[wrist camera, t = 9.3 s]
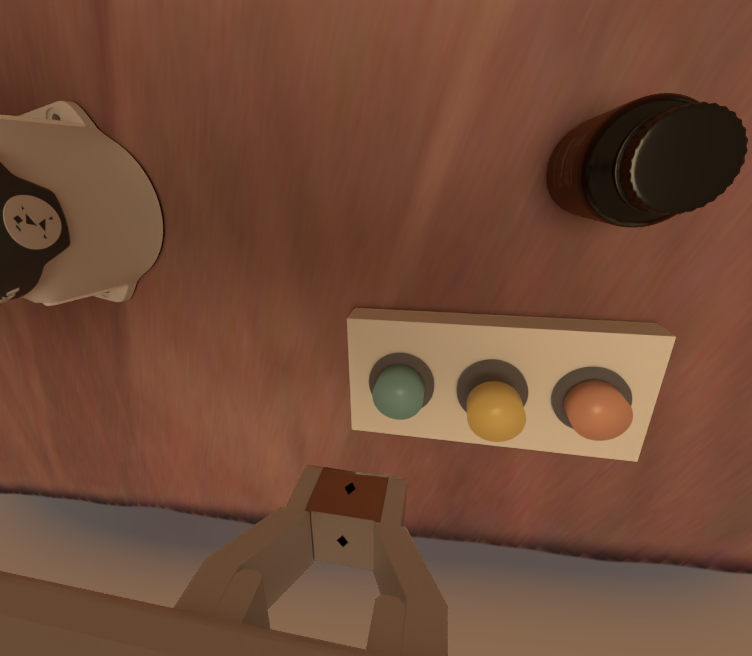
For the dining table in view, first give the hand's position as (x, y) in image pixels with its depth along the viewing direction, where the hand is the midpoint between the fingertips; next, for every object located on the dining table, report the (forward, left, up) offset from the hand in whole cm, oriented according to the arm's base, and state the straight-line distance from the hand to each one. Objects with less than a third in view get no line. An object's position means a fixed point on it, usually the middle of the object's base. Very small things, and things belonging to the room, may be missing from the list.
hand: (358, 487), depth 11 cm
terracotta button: (+15, -9, -21) cm, 27 cm away
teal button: (-1, -9, -21) cm, 23 cm away
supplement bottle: (+13, +9, -25) cm, 29 cm away
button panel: (+7, -9, -25) cm, 27 cm away
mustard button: (+7, -9, -19) cm, 22 cm away
